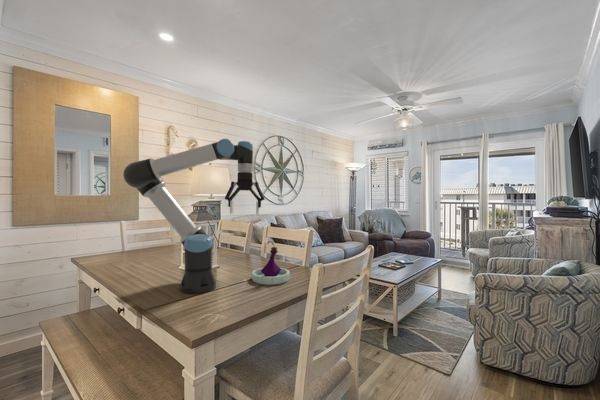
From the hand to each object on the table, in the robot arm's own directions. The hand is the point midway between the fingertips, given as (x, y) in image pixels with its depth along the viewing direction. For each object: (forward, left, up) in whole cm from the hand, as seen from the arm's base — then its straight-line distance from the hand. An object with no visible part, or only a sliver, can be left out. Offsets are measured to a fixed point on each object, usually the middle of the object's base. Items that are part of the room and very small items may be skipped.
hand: (244, 213), depth 148 cm
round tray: (+14, -3, -32) cm, 35 cm away
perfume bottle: (+14, -2, -32) cm, 35 cm away
